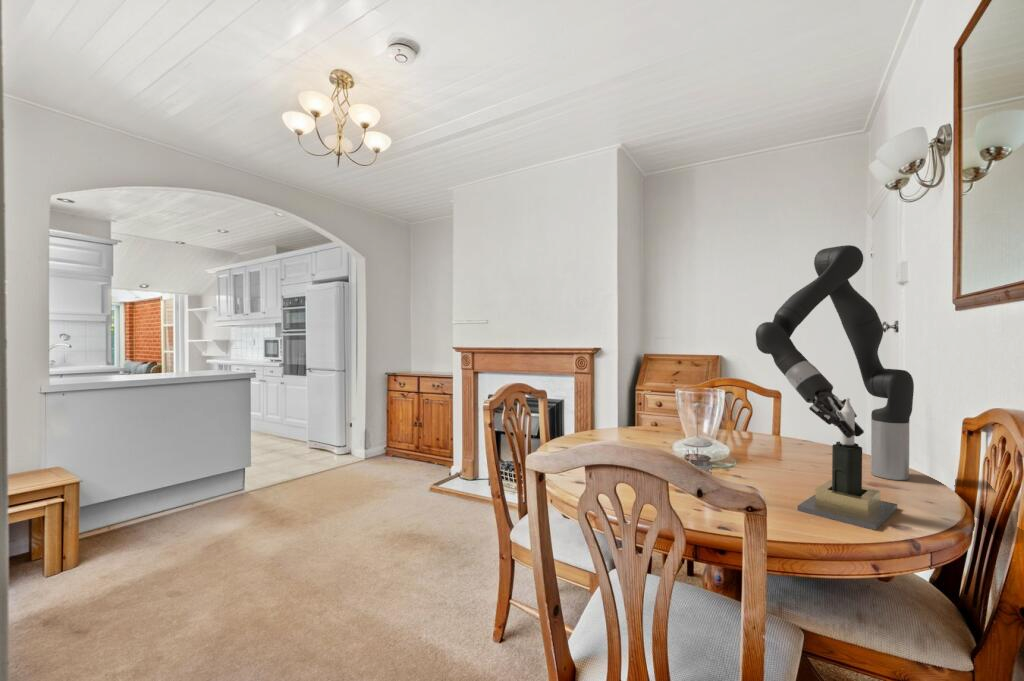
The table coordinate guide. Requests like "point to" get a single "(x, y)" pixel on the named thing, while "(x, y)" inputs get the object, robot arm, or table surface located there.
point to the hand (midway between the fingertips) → (856, 435)
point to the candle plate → (850, 516)
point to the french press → (697, 459)
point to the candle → (847, 459)
